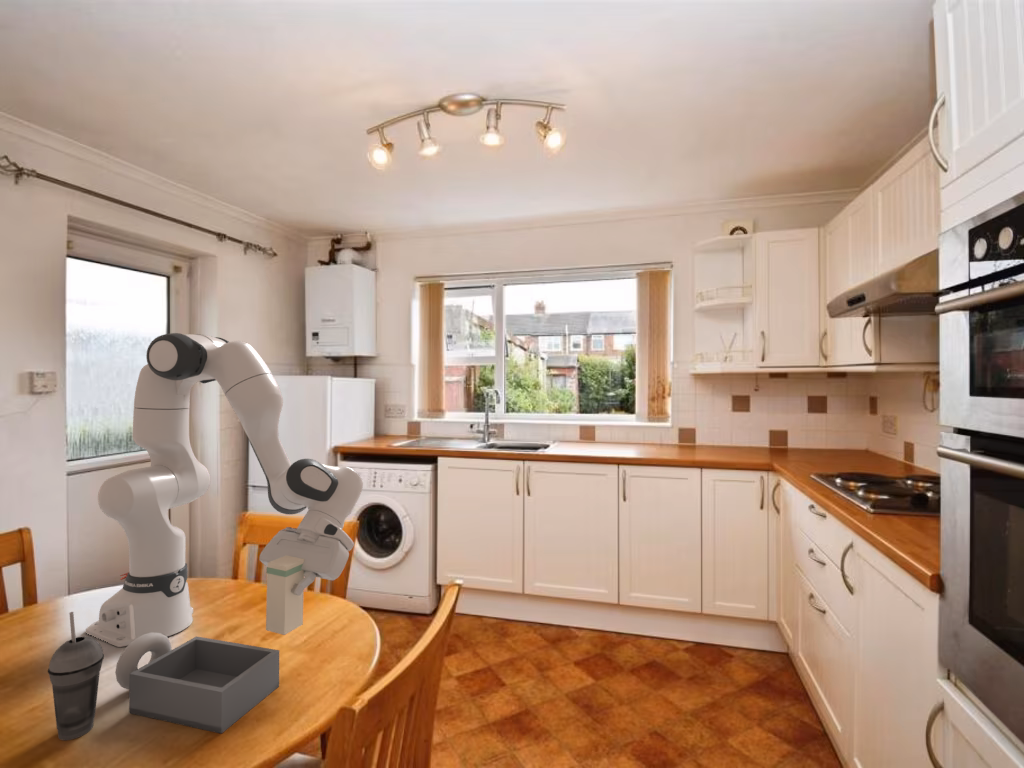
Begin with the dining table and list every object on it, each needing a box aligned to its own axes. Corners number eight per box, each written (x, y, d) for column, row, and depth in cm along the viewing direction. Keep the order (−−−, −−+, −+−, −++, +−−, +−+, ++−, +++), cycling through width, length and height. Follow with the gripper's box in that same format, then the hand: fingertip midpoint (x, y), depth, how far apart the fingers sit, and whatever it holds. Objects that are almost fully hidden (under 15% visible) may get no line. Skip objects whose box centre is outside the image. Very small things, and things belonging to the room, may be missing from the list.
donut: (122, 703, 94) (123, 649, 94) (110, 699, 95) (111, 645, 95) (175, 674, 103) (176, 625, 103) (163, 670, 105) (164, 622, 105)
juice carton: (265, 630, 106) (266, 562, 106) (284, 619, 111) (286, 555, 111) (284, 635, 104) (285, 566, 104) (303, 624, 109) (305, 558, 109)
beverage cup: (70, 749, 82) (71, 625, 82) (34, 742, 84) (35, 620, 84) (114, 720, 89) (115, 605, 89) (80, 714, 91) (81, 601, 91)
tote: (129, 712, 91) (129, 673, 91) (196, 670, 105) (196, 636, 105) (221, 733, 86) (221, 692, 86) (279, 686, 100) (279, 650, 100)
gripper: (275, 519, 118) (237, 576, 109) (347, 530, 110) (313, 593, 101) (290, 533, 122) (254, 589, 113) (360, 545, 114) (328, 606, 105)
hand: (283, 591), depth 107 cm, fingers closed on juice carton, 5 cm apart
